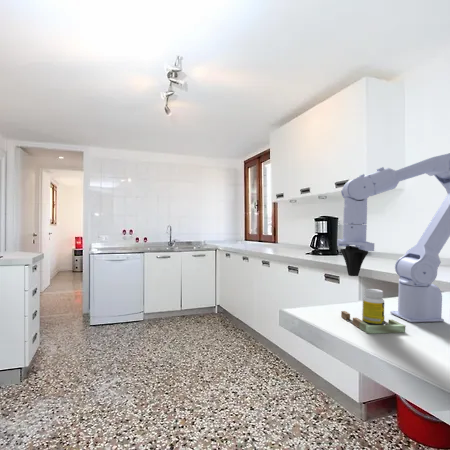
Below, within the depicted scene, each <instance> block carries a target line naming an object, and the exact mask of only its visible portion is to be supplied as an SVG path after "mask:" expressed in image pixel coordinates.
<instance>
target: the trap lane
mask: <svg viewBox="0 0 450 450" xmlns="http://www.w3.org/2000/svg"><path fill="white" fill-rule="evenodd" d="M340 314H341V315H340V316H341V318H342V319H344V320H345V321H347V322H349V323H350V324H352V325H354V326H355V327H357V328H359V329H360V330H362V331H364V332H365V333H367V334H368V335H369V334H395V333H396V334H399V333H400V334H401V333H406V325H405V324H403V323H400V322H399V321H397V320H395V319H388V320H387V321H388V322H387V321H386V320H384V325H369V324H367V323H365V322H363V321H362V319H360V318H359V317H352V319H351V313H349V312H348V311H345V310H342V311H341V312H340Z"/></svg>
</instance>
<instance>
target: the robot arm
mask: <svg viewBox="0 0 450 450" xmlns="http://www.w3.org/2000/svg"><path fill="white" fill-rule="evenodd" d="M424 174H425V175H428V176H429V177H431V176H434V177H435V178H436V180H437V181H438V182H439V183H440V184H441V185H442V187H444V189H445V190H446V193H447V194H446V196H445V197H444V199H443V201H442V202H441V204H440V206H439V207H438V209H437V211H436V212H435V214H434V216H433V217H432V219H431V220H430V222H429V224H428V225H427V227H426V228H425V230H424V232H423V233H422V235H420V238H419V239H418V241H417V242H416V244H415V245H414V246H413V247H411V248H409V249H408V250H407V251H406V253H404V255H403V256H401V257H399V258H398V259H397V260H396V262H395V264H394V269H395V270H394V271H395V272H396V275H397V276H399V278H398V297H397V298H398V299H397V300H398V301H397V310H391V311H390V314H392V315H395V316H396V317H398V318H401V319H403V320H405V321H408V322H410V323H425V322H426V323H427V322H445V319H444V318H443V317H442V316H443V315H442V313H443V311H442V310H443V309H442V308H443V306H442V305H443V295H442V294H443V293H442V291H441V289H440V288H439V286H438V285H437V284H434V282H435V280H436V279H437V276H438V270H439V269H438V268H439V267H440V265H441V263H442V262H441V259H440V256H439V254H440V252H441V250H443V247H444V246H445V244H446V243H447V241H448V240H449V238H450V153H444V154H440V155H436V156H433V157H428V158H427V159H424V160H420V161H418V162H415V163H412V164H410V165H407V166H404V167H400V168H399V169H396V170H395V169H392V168H390V167H386V168H385V167H384V166H382V167H379V168H377V169H376V171H375V172H371V173H369V174H366V175H365V174H364V173H363V174H360V175H359V176H358V177H356V178H353V179H351V180H348V181H346V182H345V184H343V186H342V190H341V191H340V193H341V196H342V197H343V200H344V201H343V204H344V205H343V206H344V207H343V223H342V224H343V225H342V226H343V227H342V229H343V230H342V239H341V238H337V239H336V240H337V241H336V246H337V247H345V248H340V250H339V251H340V253H341V255H342V257H343V259H344V262H345V267H346V270H347V274H348V276H350V277H358V276H359V274H360V270H361V267H362V264H363V262H364V260H365V258H366V257H367V256H368V254H369V252H375V243H374V242H370V241H367V230H368V229H367V227H368V226H367V224H368V198H369V197H373V196H376V195H380V194H382V193H385V192H389V191H390V190H395V189H396V188H397V186H398V184H399V183H400V182H403V181H406V180H409V179H412V178H416V177H418V176H422V175H424Z"/></svg>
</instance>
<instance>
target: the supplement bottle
mask: <svg viewBox="0 0 450 450" xmlns="http://www.w3.org/2000/svg"><path fill="white" fill-rule="evenodd" d="M361 312H362V314H361V316H362V317H361V320H362V321H363V322H365V323H367V324H369V325H385V324H384V321H385V299H384V290H381V289H376V288H365V289H364V296H363V297H362V311H361Z"/></svg>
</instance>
